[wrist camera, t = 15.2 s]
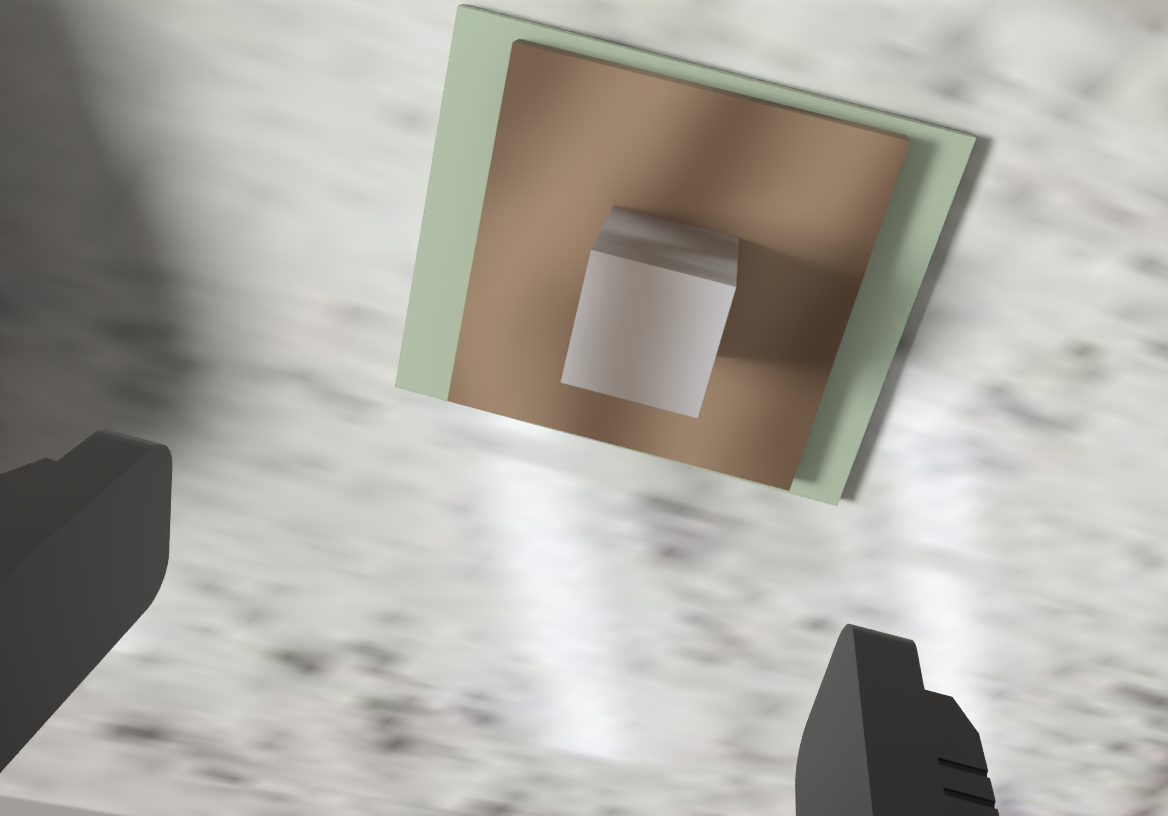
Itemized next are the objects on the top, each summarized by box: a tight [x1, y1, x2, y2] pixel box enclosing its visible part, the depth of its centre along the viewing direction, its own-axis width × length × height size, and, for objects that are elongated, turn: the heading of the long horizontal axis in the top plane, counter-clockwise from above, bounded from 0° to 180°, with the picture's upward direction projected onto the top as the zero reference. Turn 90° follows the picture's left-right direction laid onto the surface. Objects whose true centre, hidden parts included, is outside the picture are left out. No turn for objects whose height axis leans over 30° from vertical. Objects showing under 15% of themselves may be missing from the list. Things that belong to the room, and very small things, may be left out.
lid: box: [447, 39, 910, 491], centre depth 33 cm, size 12×12×6 cm
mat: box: [395, 4, 976, 506], centre depth 36 cm, size 16×13×1 cm
